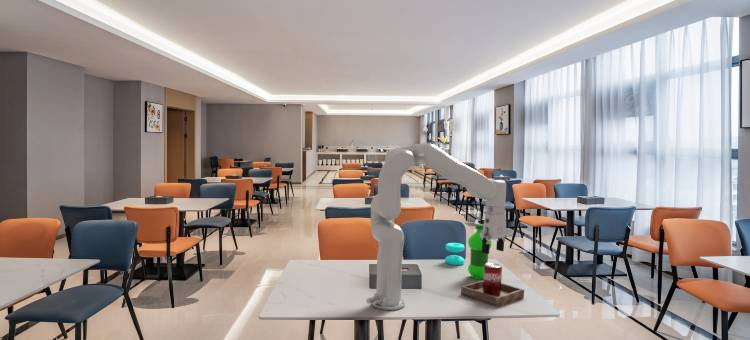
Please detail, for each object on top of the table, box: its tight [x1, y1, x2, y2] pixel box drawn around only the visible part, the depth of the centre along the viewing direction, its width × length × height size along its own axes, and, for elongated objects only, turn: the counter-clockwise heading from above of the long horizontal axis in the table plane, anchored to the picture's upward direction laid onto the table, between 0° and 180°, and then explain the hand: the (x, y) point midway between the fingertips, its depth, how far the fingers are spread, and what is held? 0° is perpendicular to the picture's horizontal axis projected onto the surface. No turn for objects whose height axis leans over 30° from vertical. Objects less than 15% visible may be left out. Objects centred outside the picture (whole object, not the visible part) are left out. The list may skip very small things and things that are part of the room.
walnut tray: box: [460, 279, 525, 308], centre depth 188 cm, size 18×18×4 cm
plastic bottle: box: [467, 223, 492, 280], centre depth 214 cm, size 10×10×25 cm
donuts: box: [444, 242, 465, 266], centre depth 239 cm, size 10×10×10 cm
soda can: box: [482, 262, 503, 296], centre depth 188 cm, size 7×7×12 cm
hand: (492, 251), depth 187 cm, fingers open, 9 cm apart
